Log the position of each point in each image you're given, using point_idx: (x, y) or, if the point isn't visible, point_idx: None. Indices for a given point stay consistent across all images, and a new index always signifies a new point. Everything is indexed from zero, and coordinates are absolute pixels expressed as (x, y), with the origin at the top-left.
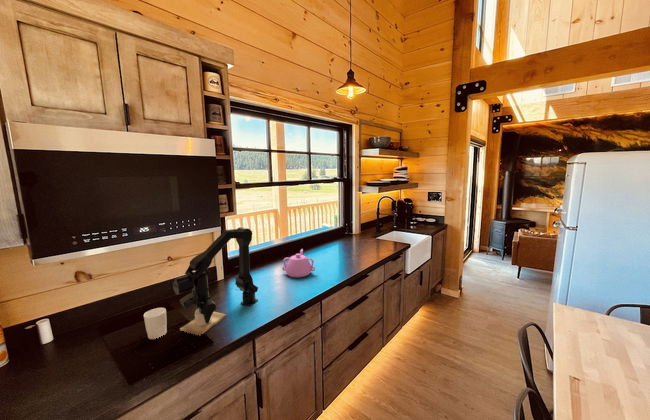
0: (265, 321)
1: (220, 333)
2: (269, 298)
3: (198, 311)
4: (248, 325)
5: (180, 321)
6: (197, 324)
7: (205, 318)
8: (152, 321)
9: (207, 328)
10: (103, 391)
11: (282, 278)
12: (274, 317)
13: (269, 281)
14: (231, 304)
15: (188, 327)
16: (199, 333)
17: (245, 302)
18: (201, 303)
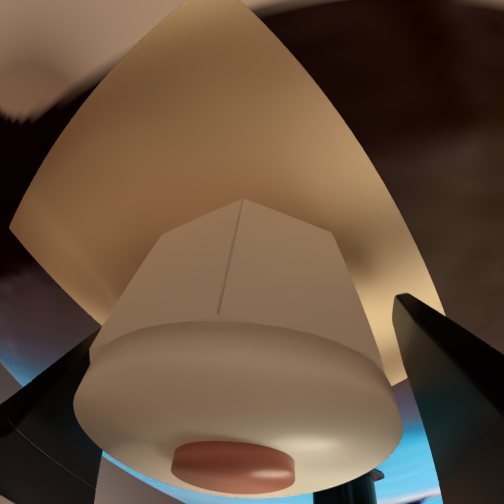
0: (120, 465)
1: (40, 344)
2: (309, 501)
3: (205, 423)
4: None
5: (477, 49)
6: (185, 225)
7: (43, 381)
8: None
9: (82, 302)
10: None
11: (411, 500)
12: (142, 480)
13: (432, 486)
14: (403, 437)
15: (176, 94)
16: (11, 228)
17: (321, 490)
18: (461, 470)
